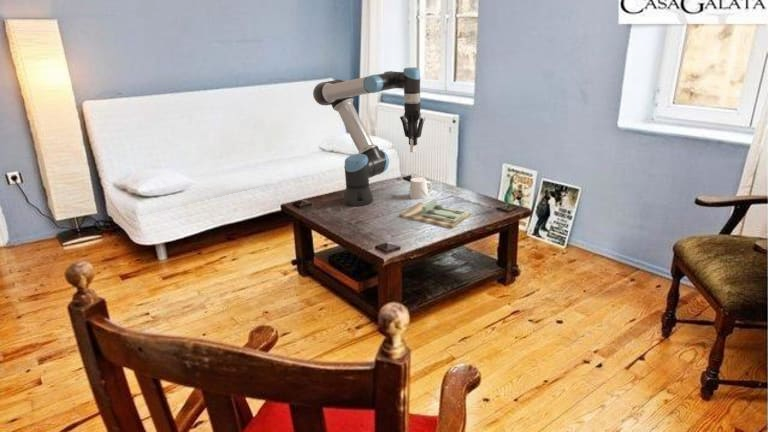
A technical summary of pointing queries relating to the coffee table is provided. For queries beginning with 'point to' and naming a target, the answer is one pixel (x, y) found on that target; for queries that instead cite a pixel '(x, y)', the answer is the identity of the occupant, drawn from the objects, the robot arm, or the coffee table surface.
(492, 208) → the coffee table surface
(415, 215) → the board
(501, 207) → the coffee table surface
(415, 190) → the mug
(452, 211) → the panel
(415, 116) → the robot arm
